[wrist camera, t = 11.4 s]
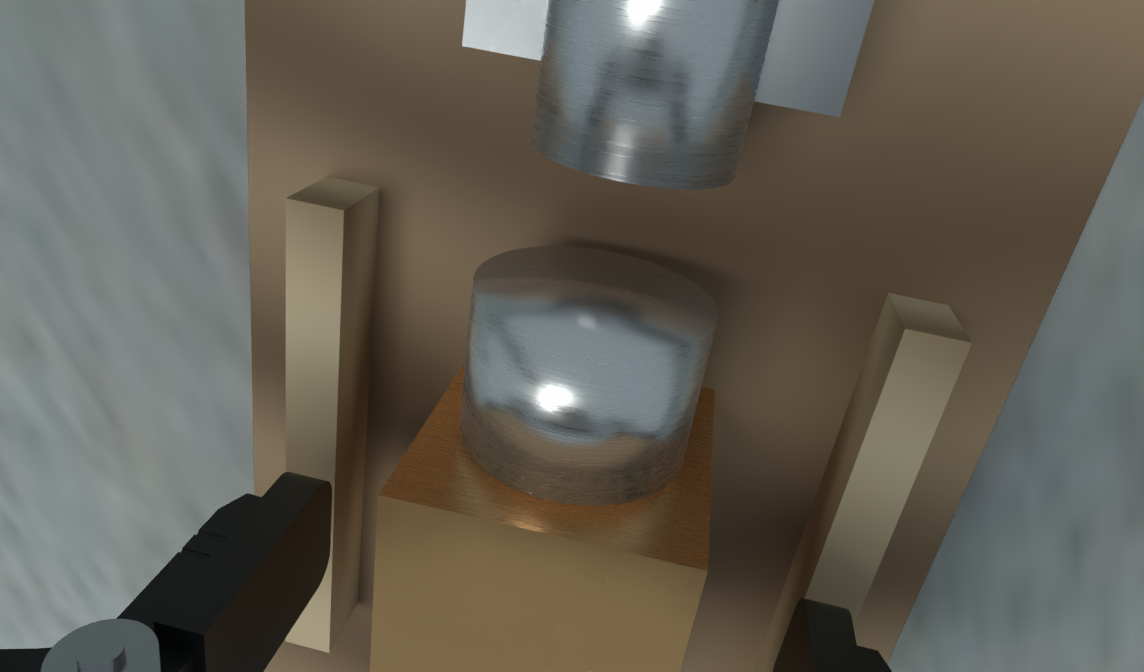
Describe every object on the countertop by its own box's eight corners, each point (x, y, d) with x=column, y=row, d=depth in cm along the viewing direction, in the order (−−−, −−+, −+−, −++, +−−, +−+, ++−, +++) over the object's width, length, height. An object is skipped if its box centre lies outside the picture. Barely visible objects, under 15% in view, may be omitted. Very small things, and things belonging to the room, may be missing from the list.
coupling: (492, 214, 14) (385, 329, 10) (746, 264, 14) (754, 407, 10) (449, 629, 19) (361, 838, 14) (642, 676, 18) (613, 907, 14)
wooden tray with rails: (274, -151, 14) (184, -171, 11) (1152, 0, 12) (1246, 8, 10) (277, 691, 22) (227, 773, 20) (790, 830, 21) (797, 933, 19)
